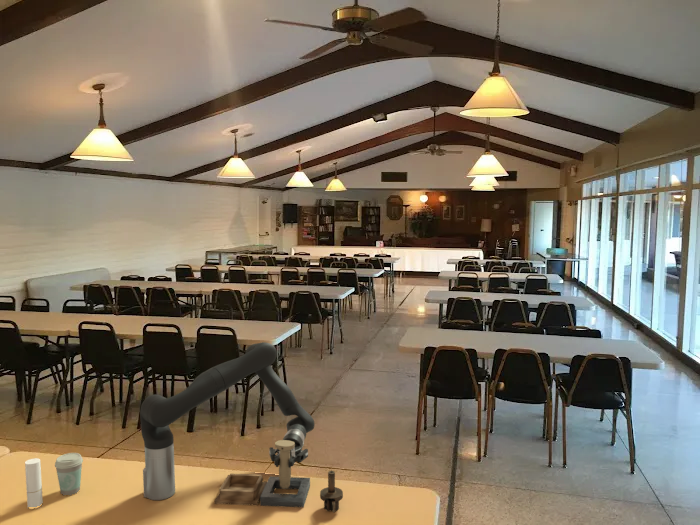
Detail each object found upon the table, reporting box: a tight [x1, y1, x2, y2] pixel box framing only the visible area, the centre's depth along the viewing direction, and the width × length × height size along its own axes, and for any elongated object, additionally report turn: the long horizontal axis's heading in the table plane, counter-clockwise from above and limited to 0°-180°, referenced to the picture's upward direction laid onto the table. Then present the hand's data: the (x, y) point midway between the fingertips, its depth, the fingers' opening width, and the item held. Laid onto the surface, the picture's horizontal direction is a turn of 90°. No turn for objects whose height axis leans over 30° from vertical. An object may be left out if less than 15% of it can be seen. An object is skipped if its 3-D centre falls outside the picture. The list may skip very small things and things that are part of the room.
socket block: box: [259, 476, 311, 508], centre depth 194 cm, size 14×14×3 cm
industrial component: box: [319, 470, 344, 513], centre depth 186 cm, size 9×7×12 cm
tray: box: [214, 473, 267, 506], centre depth 195 cm, size 14×14×4 cm
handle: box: [274, 439, 295, 490], centre depth 193 cm, size 5×6×15 cm
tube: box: [24, 457, 44, 508], centre depth 187 cm, size 4×4×15 cm
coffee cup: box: [54, 452, 84, 496], centre depth 196 cm, size 8×9×12 cm
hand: (283, 464), depth 190 cm, fingers closed on handle, 3 cm apart
